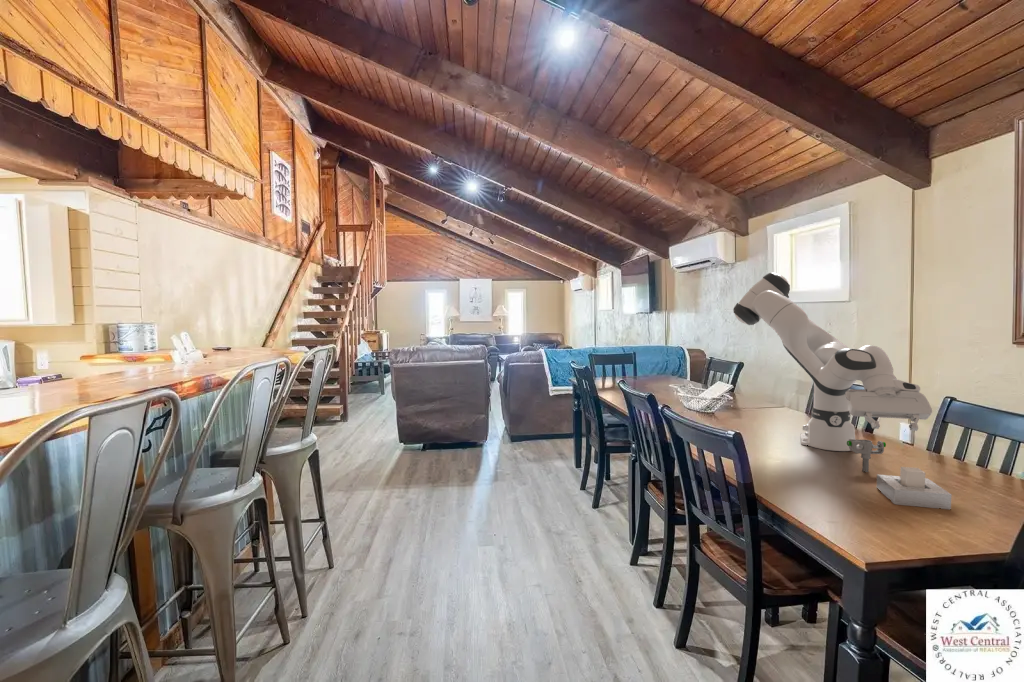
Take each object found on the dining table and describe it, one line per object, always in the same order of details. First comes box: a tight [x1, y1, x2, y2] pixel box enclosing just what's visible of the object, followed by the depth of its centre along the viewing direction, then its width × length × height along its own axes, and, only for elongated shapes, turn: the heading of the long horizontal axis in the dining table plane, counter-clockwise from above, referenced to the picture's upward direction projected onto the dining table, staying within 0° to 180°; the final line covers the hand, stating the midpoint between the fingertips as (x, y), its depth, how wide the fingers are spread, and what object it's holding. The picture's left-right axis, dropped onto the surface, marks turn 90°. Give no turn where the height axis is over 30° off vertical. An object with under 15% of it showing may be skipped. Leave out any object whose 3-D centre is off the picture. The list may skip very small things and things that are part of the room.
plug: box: [899, 466, 926, 488], centre depth 130 cm, size 4×4×8 cm
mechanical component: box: [847, 439, 887, 473], centre depth 151 cm, size 3×10×10 cm, turn 78°
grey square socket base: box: [876, 474, 953, 510], centre depth 130 cm, size 12×12×4 cm
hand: (895, 428), depth 141 cm, fingers open, 8 cm apart
